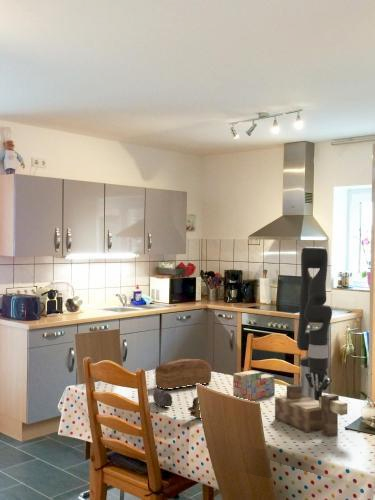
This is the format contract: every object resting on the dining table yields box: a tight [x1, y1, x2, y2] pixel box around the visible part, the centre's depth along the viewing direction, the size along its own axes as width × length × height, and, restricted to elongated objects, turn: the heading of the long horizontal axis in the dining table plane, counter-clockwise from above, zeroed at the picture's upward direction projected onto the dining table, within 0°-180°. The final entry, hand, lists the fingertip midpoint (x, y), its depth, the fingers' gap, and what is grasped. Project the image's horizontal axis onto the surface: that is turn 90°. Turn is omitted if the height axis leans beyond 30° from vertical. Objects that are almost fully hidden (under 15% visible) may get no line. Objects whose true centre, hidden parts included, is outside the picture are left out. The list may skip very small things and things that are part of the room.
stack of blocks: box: [232, 370, 276, 401], centre depth 267 cm, size 21×6×12 cm, turn 126°
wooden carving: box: [187, 396, 200, 419], centre depth 234 cm, size 16×5×10 cm, turn 141°
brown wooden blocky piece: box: [274, 393, 340, 438], centre depth 222 cm, size 28×12×15 cm, turn 29°
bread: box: [154, 358, 212, 390], centre depth 289 cm, size 12×31×14 cm, turn 122°
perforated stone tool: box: [152, 389, 173, 408], centre depth 253 cm, size 15×5×7 cm, turn 25°
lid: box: [274, 383, 321, 412], centre depth 226 cm, size 20×12×6 cm, turn 28°
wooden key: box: [319, 397, 348, 416], centre depth 210 cm, size 12×3×4 cm, turn 29°
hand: (318, 400), depth 217 cm, fingers closed
